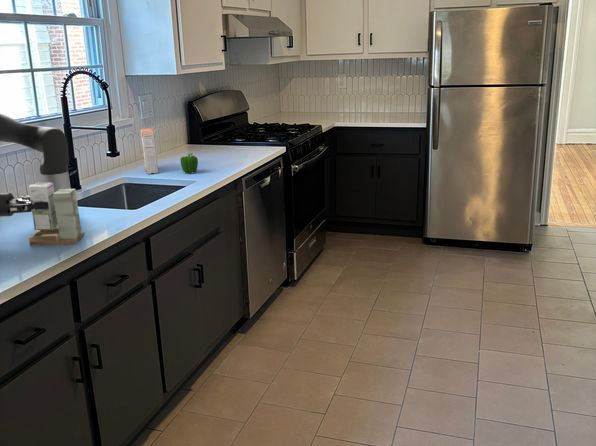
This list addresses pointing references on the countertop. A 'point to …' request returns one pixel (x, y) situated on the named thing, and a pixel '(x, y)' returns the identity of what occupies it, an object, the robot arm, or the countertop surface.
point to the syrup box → (43, 217)
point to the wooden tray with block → (61, 221)
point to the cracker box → (149, 150)
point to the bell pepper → (189, 163)
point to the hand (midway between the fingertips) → (51, 202)
